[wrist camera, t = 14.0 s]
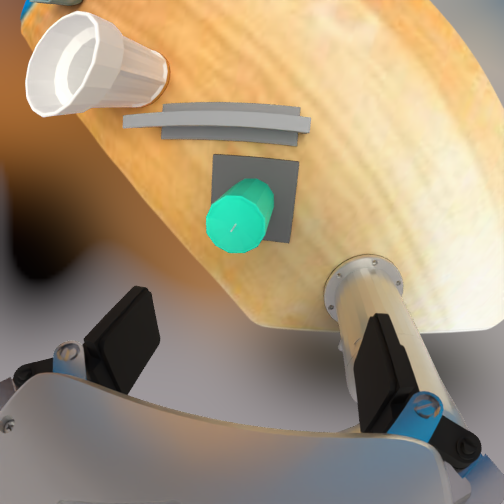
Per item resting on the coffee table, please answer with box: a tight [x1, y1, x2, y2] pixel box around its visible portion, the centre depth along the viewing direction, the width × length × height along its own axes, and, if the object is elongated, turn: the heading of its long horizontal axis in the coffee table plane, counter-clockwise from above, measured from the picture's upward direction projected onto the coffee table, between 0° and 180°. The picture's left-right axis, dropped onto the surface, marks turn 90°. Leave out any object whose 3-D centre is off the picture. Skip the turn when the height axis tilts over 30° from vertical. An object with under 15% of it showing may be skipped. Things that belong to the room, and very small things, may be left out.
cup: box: [25, 11, 170, 117], centre depth 23 cm, size 11×11×17 cm
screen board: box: [123, 102, 311, 146], centre depth 29 cm, size 5×20×9 cm, turn 85°
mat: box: [211, 154, 299, 243], centre depth 36 cm, size 11×11×1 cm
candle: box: [206, 178, 274, 253], centre depth 30 cm, size 6×6×12 cm
